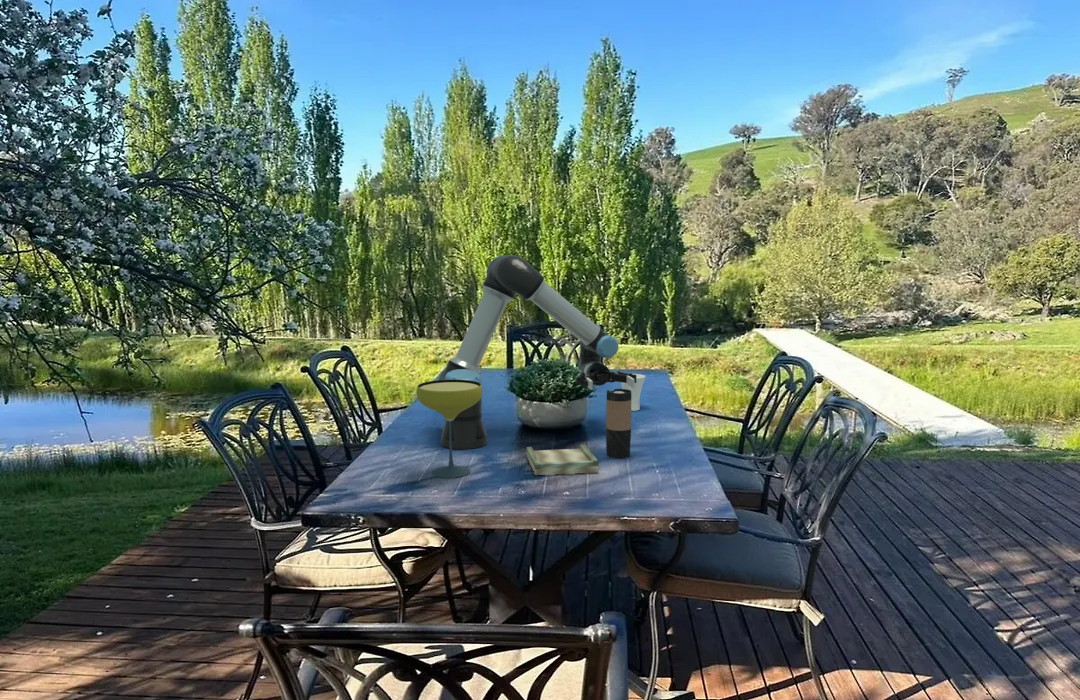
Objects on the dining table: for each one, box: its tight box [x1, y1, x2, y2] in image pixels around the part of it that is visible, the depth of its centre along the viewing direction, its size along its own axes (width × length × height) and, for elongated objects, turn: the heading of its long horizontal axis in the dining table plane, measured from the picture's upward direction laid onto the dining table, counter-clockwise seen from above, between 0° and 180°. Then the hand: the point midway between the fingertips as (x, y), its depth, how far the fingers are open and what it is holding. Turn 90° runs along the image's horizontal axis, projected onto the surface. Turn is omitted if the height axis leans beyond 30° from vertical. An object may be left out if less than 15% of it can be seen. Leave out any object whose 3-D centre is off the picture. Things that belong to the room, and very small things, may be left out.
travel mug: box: [605, 388, 632, 459], centre depth 209 cm, size 8×8×20 cm
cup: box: [620, 373, 646, 412], centre depth 273 cm, size 10×10×14 cm
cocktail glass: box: [416, 379, 483, 479], centre depth 193 cm, size 18×18×25 cm
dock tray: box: [526, 444, 600, 476], centre depth 201 cm, size 18×18×3 cm
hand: (612, 384), depth 218 cm, fingers open, 13 cm apart
